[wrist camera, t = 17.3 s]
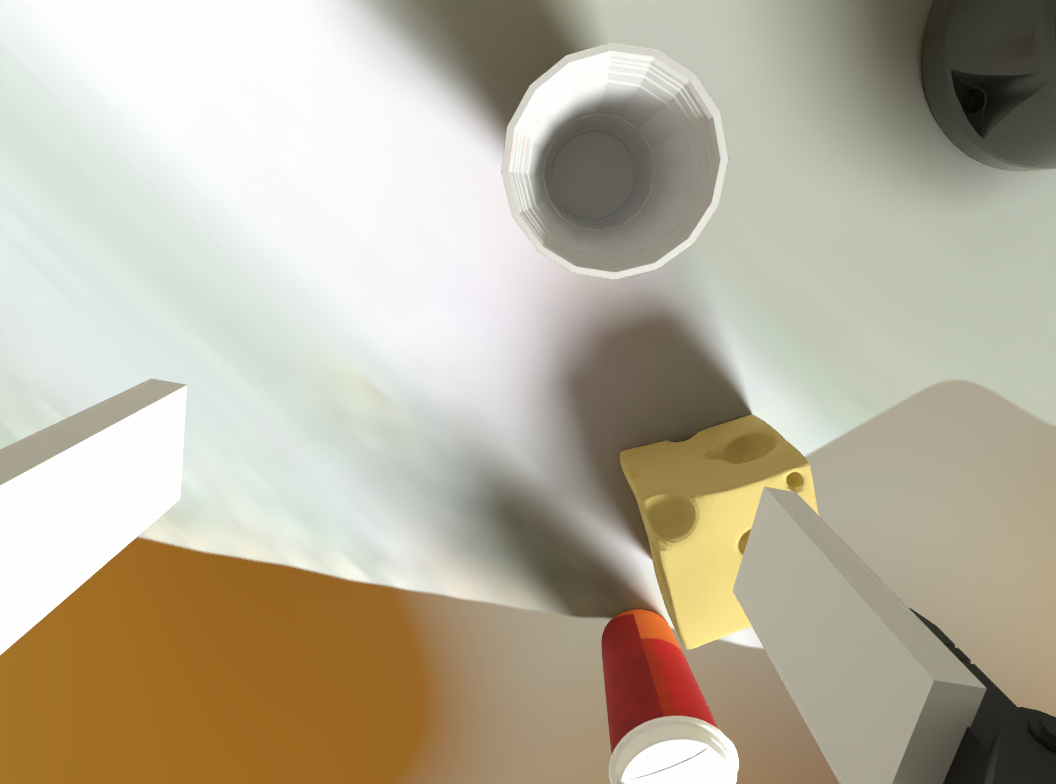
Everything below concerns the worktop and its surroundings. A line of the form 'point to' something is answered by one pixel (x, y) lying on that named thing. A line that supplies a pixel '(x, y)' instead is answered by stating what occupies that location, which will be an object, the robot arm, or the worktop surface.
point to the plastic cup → (614, 161)
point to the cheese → (709, 515)
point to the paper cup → (658, 709)
